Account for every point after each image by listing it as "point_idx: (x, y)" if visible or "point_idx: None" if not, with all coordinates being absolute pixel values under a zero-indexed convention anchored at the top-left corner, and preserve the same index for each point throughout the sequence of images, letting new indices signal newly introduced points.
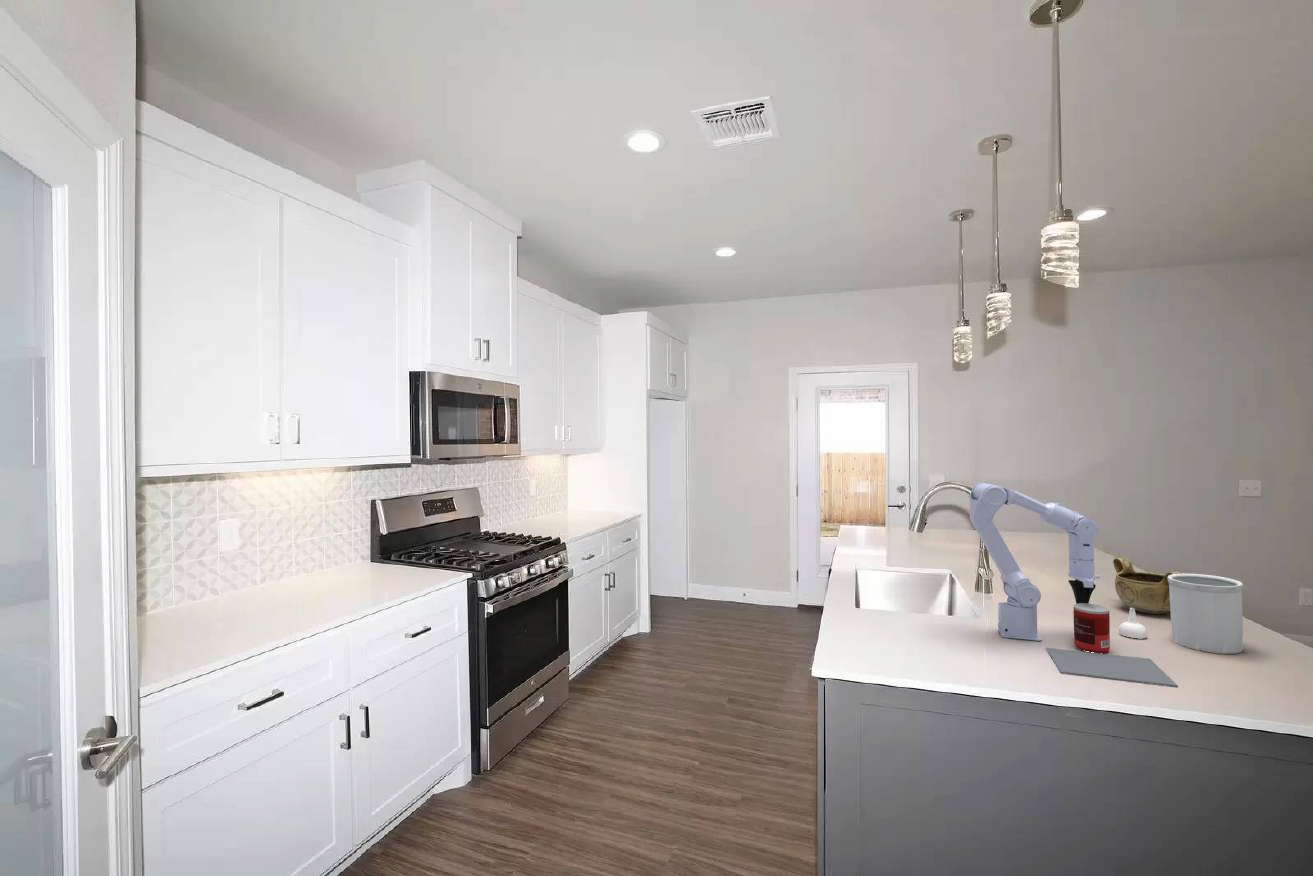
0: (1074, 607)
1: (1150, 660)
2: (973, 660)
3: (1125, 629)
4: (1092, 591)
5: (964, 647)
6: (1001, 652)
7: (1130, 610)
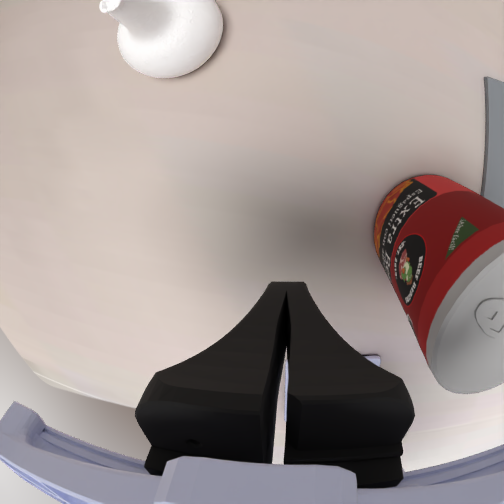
0: (482, 387)
1: (502, 85)
2: (482, 427)
3: (198, 53)
4: (367, 359)
5: (426, 446)
6: (455, 409)
7: (120, 10)
